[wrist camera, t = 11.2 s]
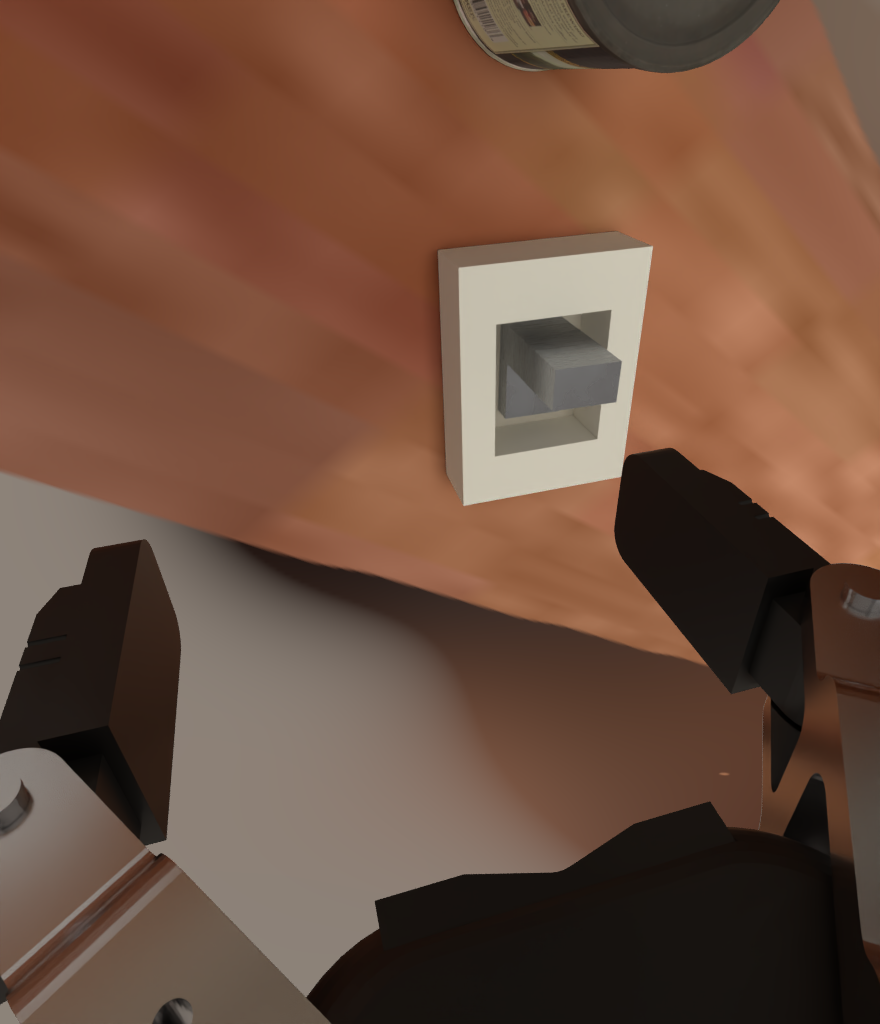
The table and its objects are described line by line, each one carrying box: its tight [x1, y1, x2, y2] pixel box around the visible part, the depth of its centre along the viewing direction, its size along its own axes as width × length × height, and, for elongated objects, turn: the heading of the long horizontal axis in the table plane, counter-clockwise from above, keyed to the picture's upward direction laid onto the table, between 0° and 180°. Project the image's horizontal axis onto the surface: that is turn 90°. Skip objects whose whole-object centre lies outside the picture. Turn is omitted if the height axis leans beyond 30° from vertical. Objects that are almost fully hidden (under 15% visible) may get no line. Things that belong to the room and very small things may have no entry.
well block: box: [438, 231, 653, 506], centre depth 44 cm, size 16×12×4 cm
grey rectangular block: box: [498, 316, 622, 419], centre depth 42 cm, size 6×4×9 cm, turn 2°
